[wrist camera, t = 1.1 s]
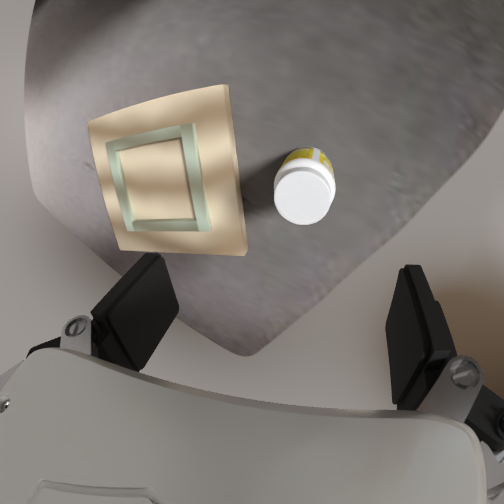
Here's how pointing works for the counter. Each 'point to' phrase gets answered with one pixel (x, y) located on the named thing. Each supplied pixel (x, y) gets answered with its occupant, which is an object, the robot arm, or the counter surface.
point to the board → (172, 174)
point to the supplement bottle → (304, 186)
